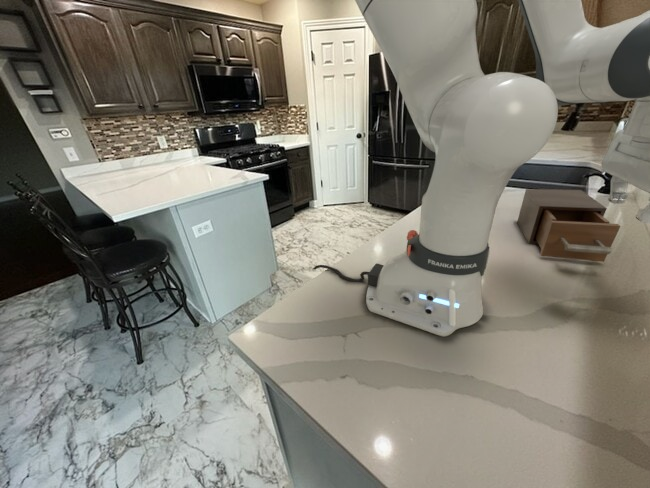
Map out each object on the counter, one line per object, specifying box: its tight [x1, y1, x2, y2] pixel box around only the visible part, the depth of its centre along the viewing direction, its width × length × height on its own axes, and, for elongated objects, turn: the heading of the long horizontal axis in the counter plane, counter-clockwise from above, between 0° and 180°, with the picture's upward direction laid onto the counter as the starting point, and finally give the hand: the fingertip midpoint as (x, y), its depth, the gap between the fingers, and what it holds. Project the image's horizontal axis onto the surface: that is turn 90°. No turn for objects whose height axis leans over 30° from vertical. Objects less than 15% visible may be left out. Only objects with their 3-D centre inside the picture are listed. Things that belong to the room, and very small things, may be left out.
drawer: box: [534, 209, 621, 263], centre depth 62 cm, size 18×11×9 cm, turn 157°
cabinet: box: [516, 188, 607, 245], centre depth 71 cm, size 15×13×11 cm
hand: (628, 211), depth 44 cm, fingers open, 7 cm apart
